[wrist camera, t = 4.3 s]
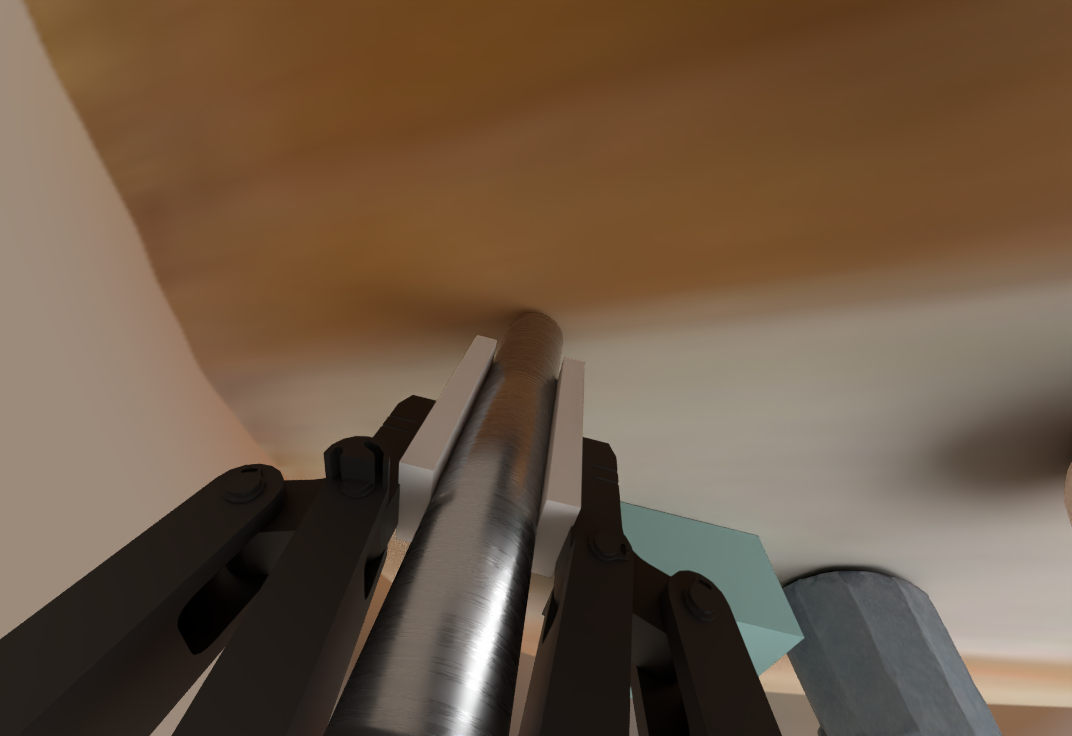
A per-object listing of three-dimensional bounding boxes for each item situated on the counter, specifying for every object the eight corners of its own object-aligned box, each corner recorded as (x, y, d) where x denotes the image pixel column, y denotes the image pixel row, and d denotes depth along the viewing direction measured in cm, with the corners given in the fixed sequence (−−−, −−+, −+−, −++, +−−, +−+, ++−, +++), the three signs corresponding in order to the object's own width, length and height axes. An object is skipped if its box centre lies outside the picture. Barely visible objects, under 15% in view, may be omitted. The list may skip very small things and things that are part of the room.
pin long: (512, 306, 17) (313, 707, 5) (569, 321, 17) (518, 759, 5) (502, 356, 18) (327, 770, 6) (555, 370, 18) (486, 809, 6)
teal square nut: (596, 495, 23) (599, 587, 18) (758, 536, 23) (804, 637, 18) (555, 588, 28) (549, 678, 23) (688, 620, 28) (709, 717, 23)
